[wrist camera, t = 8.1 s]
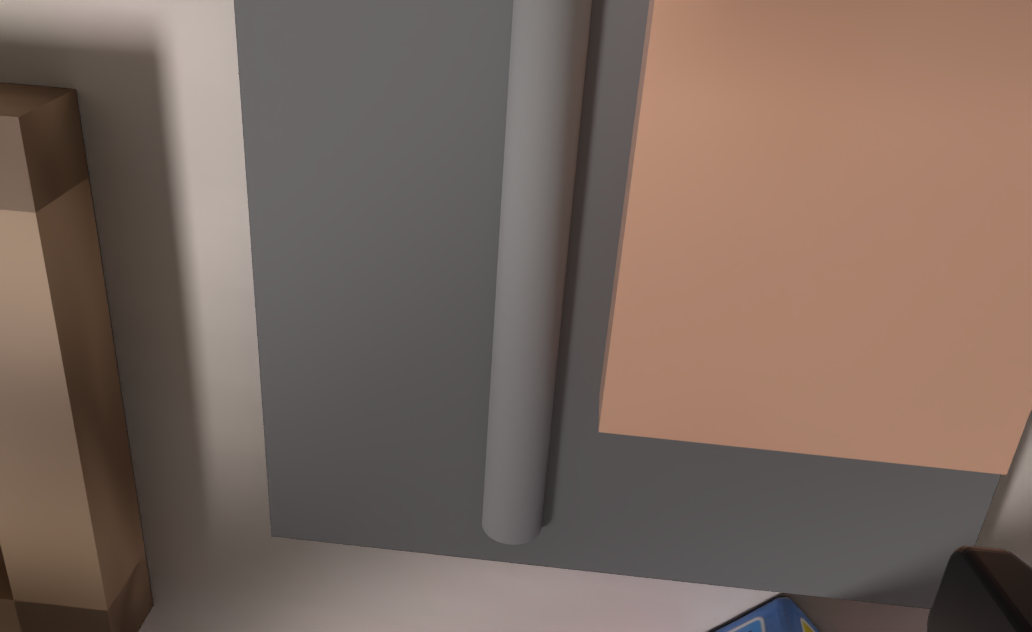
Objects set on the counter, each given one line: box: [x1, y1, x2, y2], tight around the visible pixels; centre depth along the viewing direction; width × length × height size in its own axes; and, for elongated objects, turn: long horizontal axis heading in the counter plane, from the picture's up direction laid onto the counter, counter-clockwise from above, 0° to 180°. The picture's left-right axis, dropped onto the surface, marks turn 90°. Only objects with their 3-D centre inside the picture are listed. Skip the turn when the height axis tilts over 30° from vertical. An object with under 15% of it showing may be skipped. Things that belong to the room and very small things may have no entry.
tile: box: [599, 0, 1032, 475], centre depth 15 cm, size 8×1×7 cm
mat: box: [234, 0, 1001, 609], centre depth 16 cm, size 16×14×1 cm
